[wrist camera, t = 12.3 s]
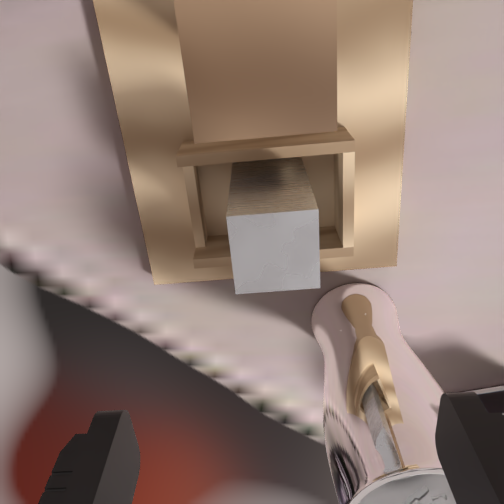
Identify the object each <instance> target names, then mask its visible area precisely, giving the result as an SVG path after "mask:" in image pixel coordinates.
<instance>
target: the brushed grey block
mask: <svg viewBox="0 0 504 504" xmlns="http://www.w3.org/2000/svg"><path fill="white" fill-rule="evenodd" d="M226 220H227V228H228V236H229V244H230V252H231V261H232V269H233V277H234V285H235V294H247V293H260V292H274V291H287V290H301V289H314V288H320V249H319V209H318V206H317V203H316V200H315V197H314V194H313V191H312V188H311V185H310V182H309V179H308V176H307V173H306V170H305V167H304V164H303V161H302V158H301V157H290V158H279V159H267V160H256V161H244V162H233V163H232V171H231V180H230V188H229V197H228V205H227V214H226Z"/></svg>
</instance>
